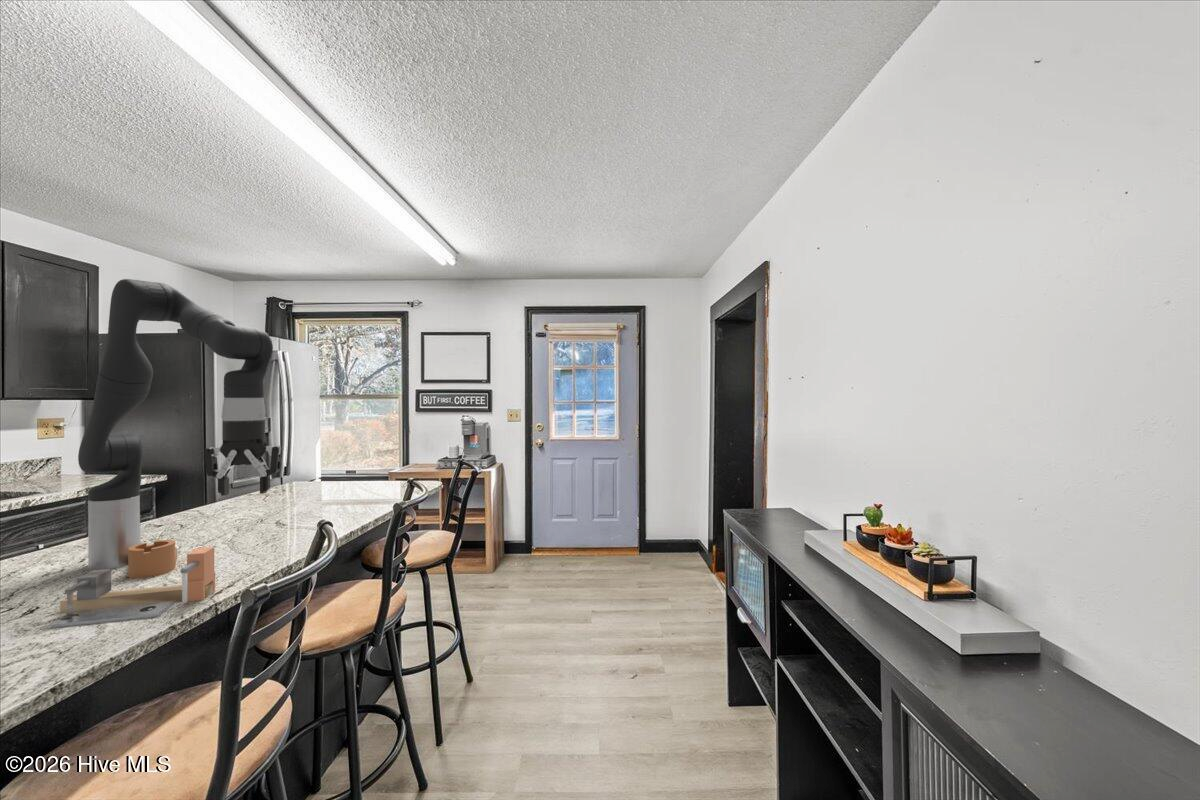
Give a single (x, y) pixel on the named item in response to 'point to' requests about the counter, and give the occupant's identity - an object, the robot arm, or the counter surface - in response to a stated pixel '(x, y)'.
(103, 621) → the strip
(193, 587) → the block
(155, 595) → the trammel bar
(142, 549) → the bracket
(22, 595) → the counter surface
